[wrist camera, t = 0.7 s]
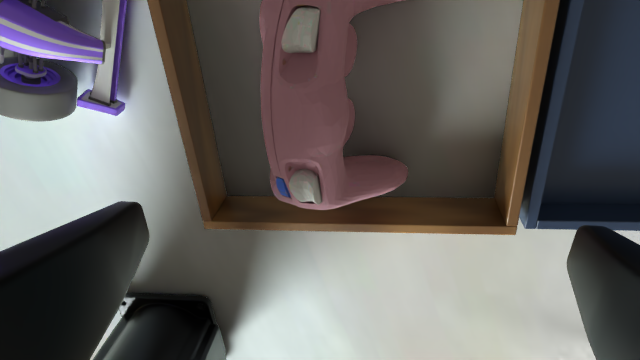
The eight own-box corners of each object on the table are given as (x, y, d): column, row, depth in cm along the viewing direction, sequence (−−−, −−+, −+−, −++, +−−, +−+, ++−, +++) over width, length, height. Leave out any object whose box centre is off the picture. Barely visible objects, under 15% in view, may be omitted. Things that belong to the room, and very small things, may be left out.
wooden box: (220, 203, 24) (204, 229, 22) (158, -79, 17) (126, -82, 15) (502, 205, 21) (515, 235, 19) (555, -117, 15) (584, -127, 13)
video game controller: (337, -45, 18) (218, -37, 13) (439, -44, 16) (343, -34, 11) (335, 160, 23) (248, 222, 18) (414, 183, 21) (339, 261, 16)
